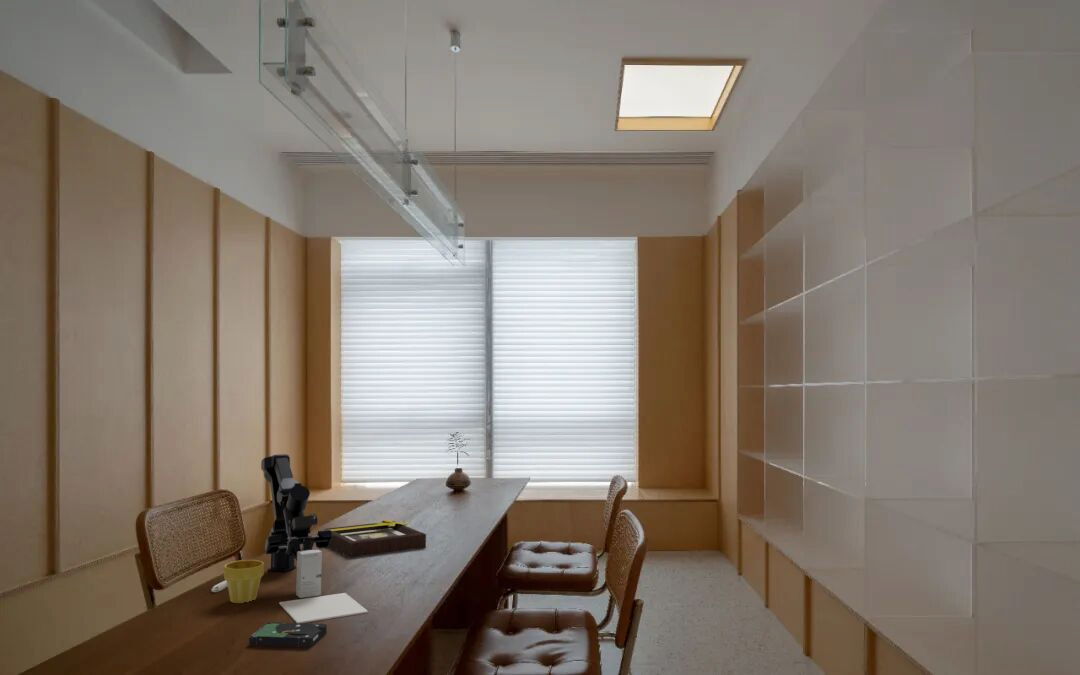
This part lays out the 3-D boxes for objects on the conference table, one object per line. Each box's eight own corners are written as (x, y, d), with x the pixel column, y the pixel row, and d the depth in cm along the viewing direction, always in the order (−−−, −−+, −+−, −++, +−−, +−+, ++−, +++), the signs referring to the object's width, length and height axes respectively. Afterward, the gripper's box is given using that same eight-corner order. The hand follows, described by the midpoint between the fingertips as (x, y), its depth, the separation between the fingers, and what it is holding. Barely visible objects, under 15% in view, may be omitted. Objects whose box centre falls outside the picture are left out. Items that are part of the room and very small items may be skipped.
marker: (215, 594, 219) (215, 586, 219) (208, 594, 219) (208, 586, 219) (247, 578, 237) (247, 570, 237) (240, 578, 237) (240, 570, 237)
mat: (279, 603, 209) (279, 602, 209) (345, 594, 218) (345, 592, 218) (297, 623, 192) (297, 622, 192) (368, 612, 201) (368, 611, 201)
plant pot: (259, 604, 209) (260, 567, 209) (219, 606, 207) (219, 569, 207) (266, 593, 219) (267, 558, 219) (228, 595, 217) (228, 560, 218)
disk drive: (327, 635, 186) (266, 633, 187) (327, 623, 186) (267, 621, 187) (311, 650, 175) (247, 647, 176) (311, 637, 175) (248, 635, 176)
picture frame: (322, 526, 287) (397, 517, 303) (321, 544, 286) (397, 535, 303) (349, 539, 263) (429, 530, 280) (349, 559, 263) (429, 548, 280)
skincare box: (300, 598, 214) (300, 554, 215) (295, 594, 218) (296, 551, 218) (322, 595, 217) (322, 551, 218) (317, 591, 221) (317, 548, 222)
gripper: (267, 507, 223) (275, 553, 213) (332, 502, 233) (342, 546, 223) (261, 530, 230) (268, 576, 220) (324, 524, 239) (334, 568, 229)
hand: (304, 566), depth 223 cm, fingers closed
